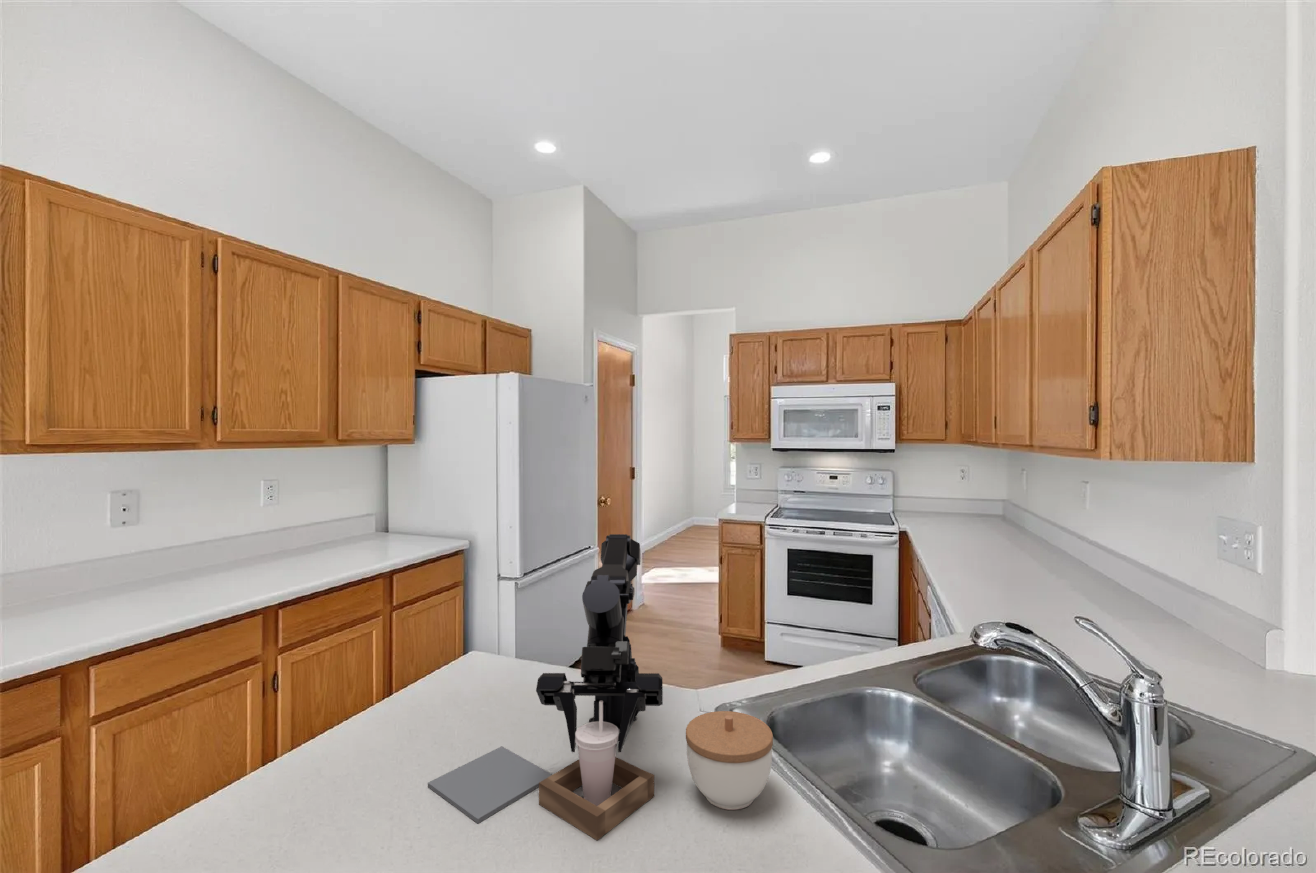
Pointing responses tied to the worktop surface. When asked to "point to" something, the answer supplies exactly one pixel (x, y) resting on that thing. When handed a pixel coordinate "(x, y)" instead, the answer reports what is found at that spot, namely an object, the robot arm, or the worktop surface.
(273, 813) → the worktop surface
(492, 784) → the slate mat
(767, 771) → the lidded bowl
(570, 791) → the walnut holder
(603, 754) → the smoothie
